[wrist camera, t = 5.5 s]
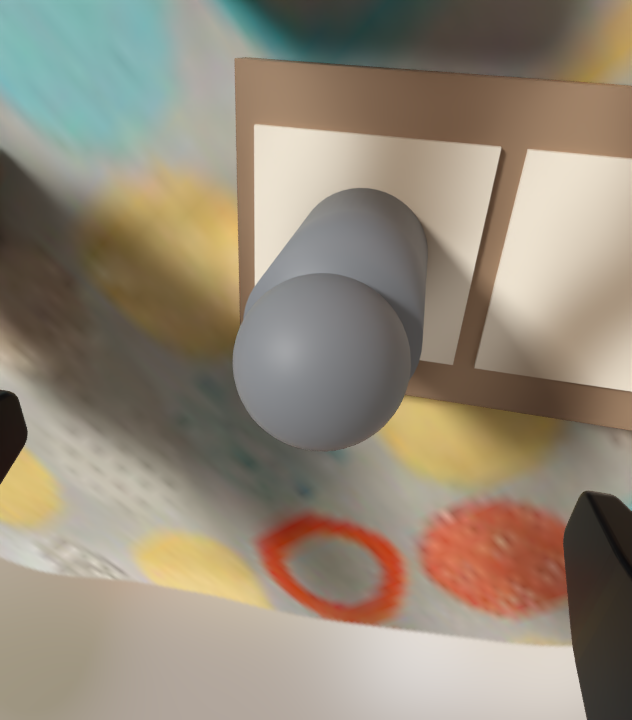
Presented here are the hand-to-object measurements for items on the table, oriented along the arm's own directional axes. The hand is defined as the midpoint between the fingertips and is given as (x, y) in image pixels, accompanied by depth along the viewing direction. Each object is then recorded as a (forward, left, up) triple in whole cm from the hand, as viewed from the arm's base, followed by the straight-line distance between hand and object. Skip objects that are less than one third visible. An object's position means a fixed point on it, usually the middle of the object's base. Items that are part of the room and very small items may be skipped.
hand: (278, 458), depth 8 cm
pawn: (0, 0, -10) cm, 10 cm away
